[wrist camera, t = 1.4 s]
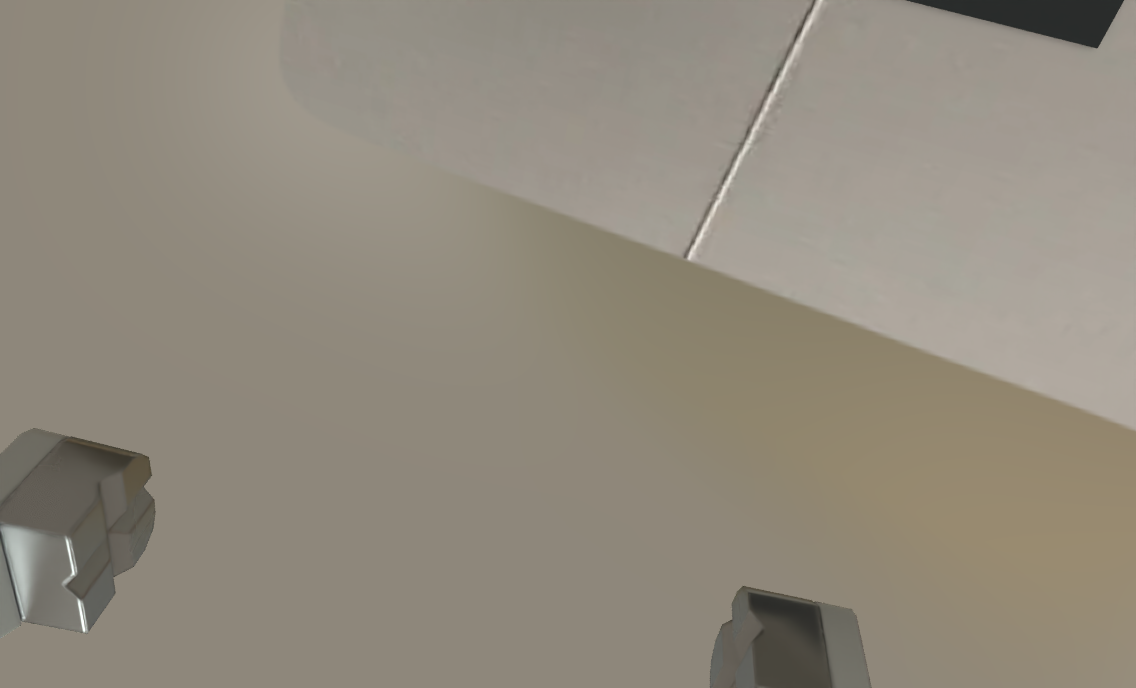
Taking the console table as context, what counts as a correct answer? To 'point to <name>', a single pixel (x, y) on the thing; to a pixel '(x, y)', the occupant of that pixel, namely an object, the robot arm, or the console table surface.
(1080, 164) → the console table surface
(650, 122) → the console table surface
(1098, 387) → the console table surface
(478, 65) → the console table surface
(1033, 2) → the mat
